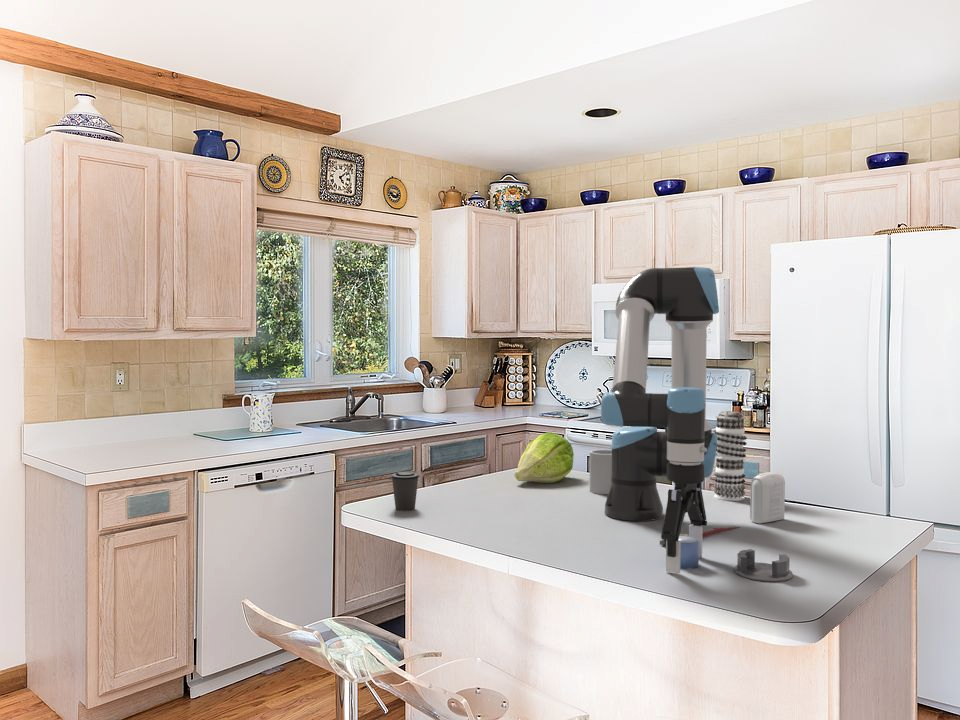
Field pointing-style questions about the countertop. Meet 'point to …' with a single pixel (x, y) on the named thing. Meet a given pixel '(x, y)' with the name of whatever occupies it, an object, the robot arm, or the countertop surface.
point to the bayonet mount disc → (762, 568)
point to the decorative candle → (730, 456)
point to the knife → (705, 533)
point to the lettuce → (545, 459)
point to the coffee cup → (405, 490)
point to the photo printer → (767, 497)
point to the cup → (600, 471)
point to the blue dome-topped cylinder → (689, 552)
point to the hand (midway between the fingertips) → (684, 564)
